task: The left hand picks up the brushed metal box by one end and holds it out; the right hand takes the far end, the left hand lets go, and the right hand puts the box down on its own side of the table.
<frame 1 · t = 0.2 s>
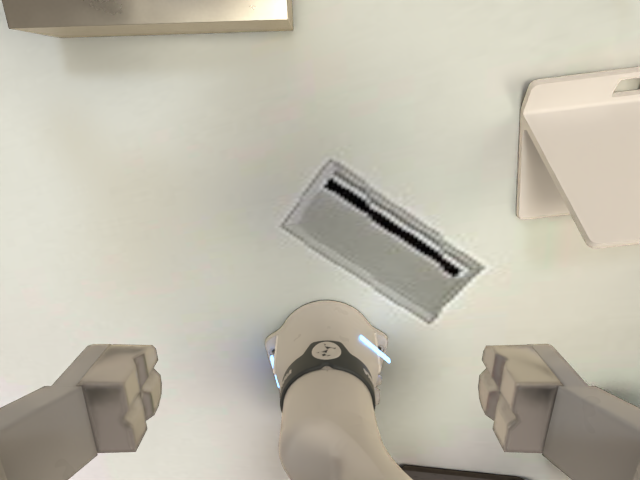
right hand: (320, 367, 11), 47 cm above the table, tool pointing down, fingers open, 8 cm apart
tablet stand: (614, 141, 55), on the table
box: (173, 4, 50), on the table
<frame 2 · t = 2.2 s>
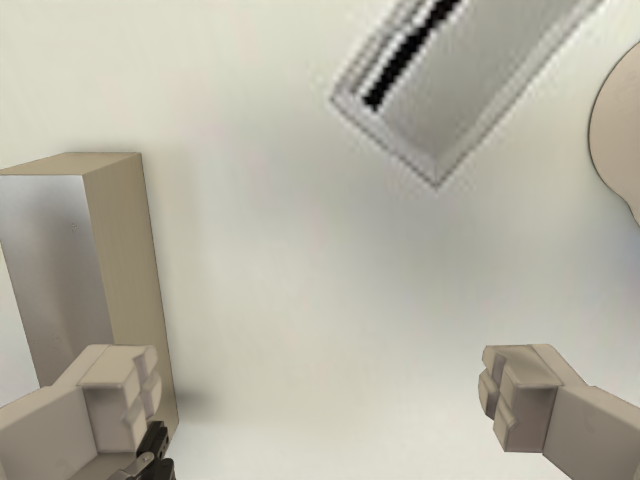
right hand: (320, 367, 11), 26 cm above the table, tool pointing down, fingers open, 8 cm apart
box: (128, 303, 40), on the table, touching left hand
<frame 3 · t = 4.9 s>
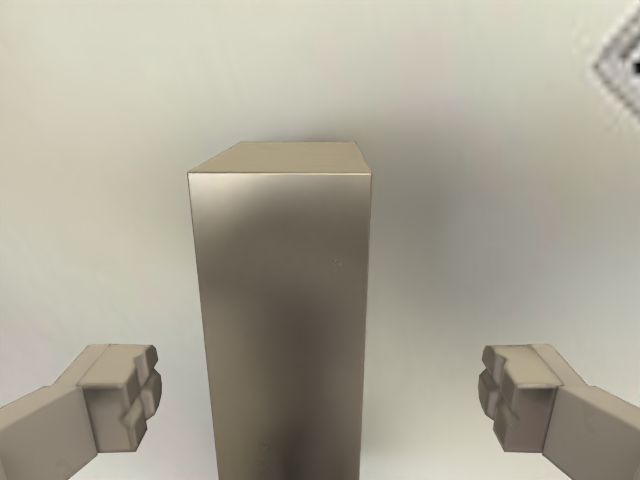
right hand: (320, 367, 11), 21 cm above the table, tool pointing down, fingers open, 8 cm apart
box: (301, 362, 27), point 7 cm above the table, touching left hand
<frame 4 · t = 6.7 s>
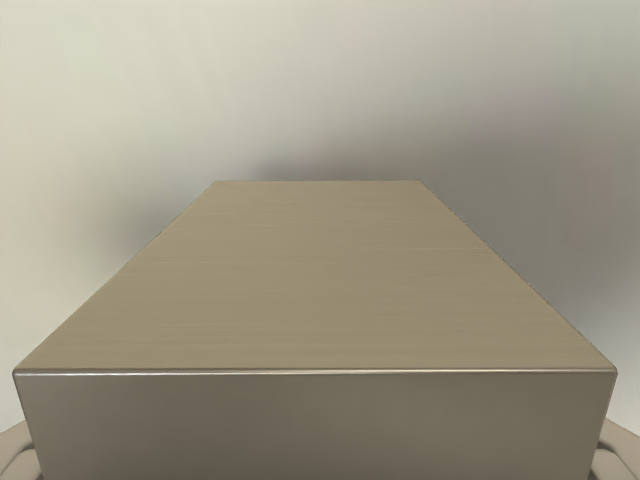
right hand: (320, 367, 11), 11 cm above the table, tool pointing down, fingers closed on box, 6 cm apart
when the left hand's fingers open (12 cm above the table, at t = 7.9 s): box moves 1 cm, held by the right hand.
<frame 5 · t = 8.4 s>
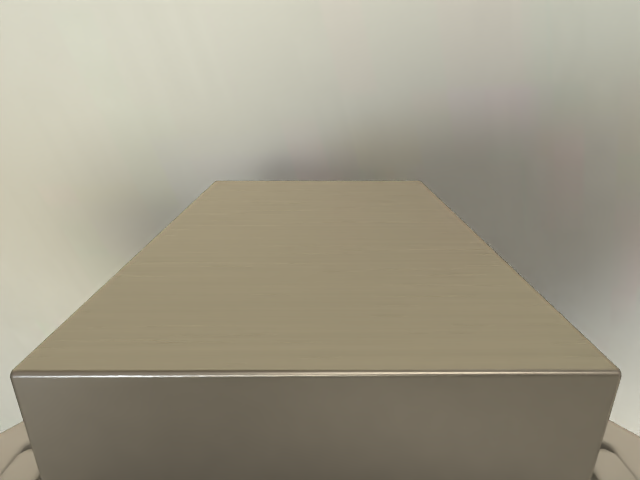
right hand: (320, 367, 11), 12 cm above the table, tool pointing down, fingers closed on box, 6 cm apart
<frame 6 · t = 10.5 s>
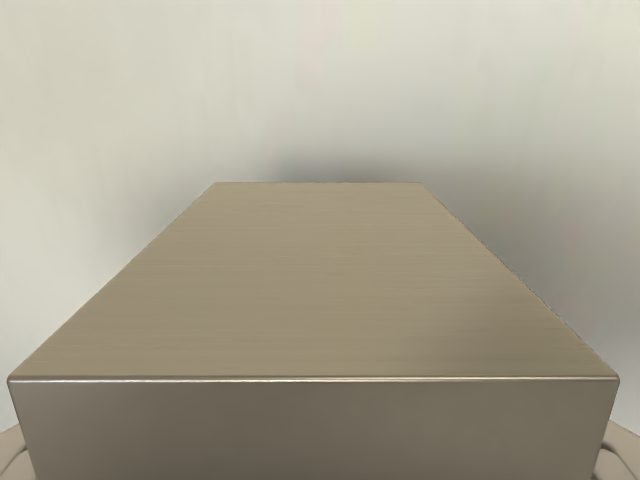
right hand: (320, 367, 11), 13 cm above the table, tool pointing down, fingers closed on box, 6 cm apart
when the right hand's fingers open (5 cm above the table, at t = 14.4 s): box stays where it is, on the table.
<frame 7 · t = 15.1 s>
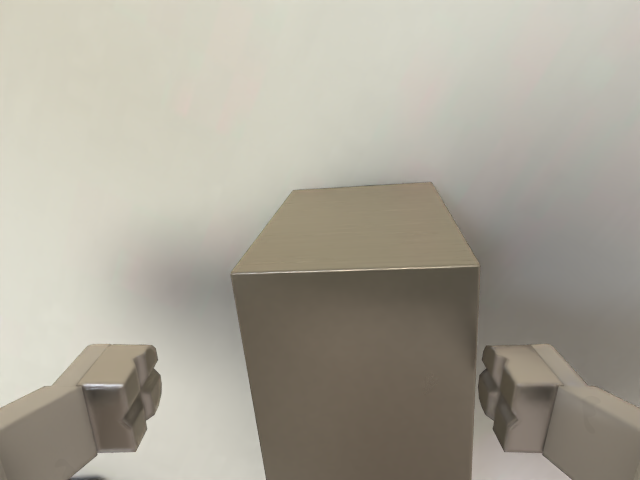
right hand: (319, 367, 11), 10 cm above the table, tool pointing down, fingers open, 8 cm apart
box: (374, 431, 24), on the table, tilted 7°
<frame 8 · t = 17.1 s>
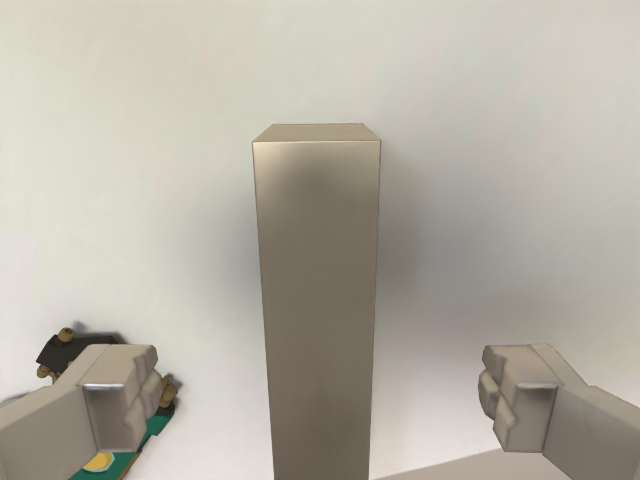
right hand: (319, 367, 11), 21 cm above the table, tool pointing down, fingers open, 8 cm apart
spray gun: (95, 411, 37), on the table
box: (319, 305, 34), on the table
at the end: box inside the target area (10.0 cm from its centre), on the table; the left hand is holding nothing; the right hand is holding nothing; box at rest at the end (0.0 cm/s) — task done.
